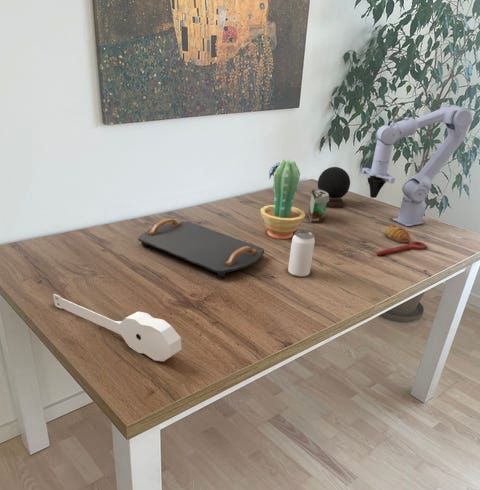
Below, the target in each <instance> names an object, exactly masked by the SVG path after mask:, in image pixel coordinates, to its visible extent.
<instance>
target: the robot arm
mask: <svg viewBox="0 0 480 490" xmlns="http://www.w3.org/2000/svg"><path fill="white" fill-rule="evenodd" d="M438 123H444V125H445V126H446V130H447V131H446V132H447V136H445V137H446V138H444V140H443V141H442V143H440V145H439V146H438V148H437V149H436V150H435V151H434V153H433V154H432V155H431V157H430V158H429V159H428V161H427V162H426V163H425V164H424V166H423V167H422V168H421V170H420V171H419V172H417V173H415V174H413V175H412V176H411V178H409V179H408V180H406V181H404V183H403V184H402V187H401V191H402V193H403V194H402V195H403V196H402V200H401V204H400V207H399V211H398V216H397V217H394V218H392V221H394V222H397V223H399V224H401V225H403V226H405V227H413V226H417V225H422V224H424V221H423V220H424V216H425V213H426V208H427V203H426V201H425V200H426V199H427V197H428V193H429V191H431V189H432V181H433V180H434V178H435V177H436V176H437V174H439V172H440V171H441V169H442V168H444V166H445V164H446V163H447V162H448V161H449V160H450V158H451V157H452V155H453V154H454V153H455V152H456V150H457V149H458V148H459V147H460V145H461V144H462V143H463V142H464V140H465V139H466V136H467V133H468V130H469V126H470V125H471V124H472V123H473V115H472V111H471V110H470V108H467V107H462V106H459V105H456V104H449V105H447V106H442V107H440V108H438V109H437V110H434V111H431V112H429V113H427V114H424V115H422V116H420V117H417V118H413V117H408V116H405V117H403V119H402V120H399V121H397V122H394V121H393V122H390V124H389V125H387V124H384V125H381V126H380V127H379V128H378V129H377V131H376V132H375V138H376V145H375V148H374V153H373V158H372V164H371V168H369V167H362V169H361V174H363V175H364V174H365V175H368V176H369V177H367V182H368V186H369V197H370V198H372V199H375V198H377V197H378V195H379V193H380V191H381V190H382V188H383V186H384V185H385V184H386V183H388V184H390V185H391V184H395V181H396V177H394V176H393V175H390V174H388V168H389V164H390V160H391V156H392V151H393V147H394V144H395V143H396V142H397V141H398V140H400V139H403V138H405V137H409V136H411V135H414V134H416V132H417V131H418V129H421V128H424V127H427V126H431V125H434V124H438Z"/></svg>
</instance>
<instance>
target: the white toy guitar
mask: <svg viewBox="0 0 480 490" xmlns="http://www.w3.org/2000/svg"><path fill="white" fill-rule="evenodd" d="M52 297H53V303H54V306H55V307H57V308H59V309H60V310H62V309H63V310H65V311H66V312H69V313H72V314H74V315H76V316H78V317H81V318H82V319H85V320H87V321H90V322H91V323H94V324H96V325H98V326H101V327H103V328H105V329H107V330H109V331H111V332H114V333H116V334H118V335H120V336H121V337H122V338H123V340H124V341H125V343H126V344H127V346H128V347H129V348H130V349H132V350H133V351H135V352H136V353H138V354H144V355H145V356H147V357H148V358H150V359H152V360H153V361H156V362H165V361H167V360H168V359H170V358H171V357H173V356H174V355H176V354H177V353H178V352H180V351H182V337H181V336H180V334H178V332H177V331H176V330H175V328H174V327H173V326H172V325H171V324H169V323H168V322H167V321H166V320H165V319H162V318H157V317H153V316H152V315H150V314H149V313H148V312H143V311H136V312H134V313H132V314H130V315H128V316H126V317H125V318H124V319H123V320H114V319H112V318H109V317H107V316H105V315H102V314H99V313H98V312H95V311H93V310H91V309H88V308H86V307H83V306H81V305H79V304H76V303H74V302H72V301H69V300H68V299H65V298H62V297H61V296H60V295H58V294H56V293H53V294H52Z"/></svg>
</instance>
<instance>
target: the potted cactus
mask: <svg viewBox="0 0 480 490" xmlns="http://www.w3.org/2000/svg"><path fill="white" fill-rule="evenodd" d="M272 176H273V178H272ZM300 177H301V172H300V169H299V167H298V165H297V163H296V162H295V160H290V159H287V160H286V159H282V161H277V162H275V163H274V164H272V165H271V167H270V168H269V171H268V180H271V178H272V179H273V180H272V188H273V193H274V201H273V204H270V205H264V206H263V207H261V208H260V214H261V215H260V216H261V218H263V220H264V225H265V227H266V229H267V235H268V236H269V237H271V238H274V239H279V240H286V239H291V238H293V236H294V233H295V232H296V230H297V229H298V228H299V226H300V224H301V223H302V221H304V220H305V217H306V214H305V211H304V210H302V209H300V208H297V207H295V206H293V203H294V199H295V195H296V192H297V191H298V187H299V183H300Z"/></svg>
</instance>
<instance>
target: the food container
mask: <svg viewBox="0 0 480 490" xmlns="http://www.w3.org/2000/svg"><path fill="white" fill-rule="evenodd" d="M328 201H329V194H328V193H327V192H325V191H323V190H319V189H318V188H313V187H312V188H311V192H310V200H309V208H308V217H309V221H310V223H312V224H316V223H317V224H318V223H322V222H323V220H324V216H325V212H326V208H327V207H326V204H327V202H328Z"/></svg>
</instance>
